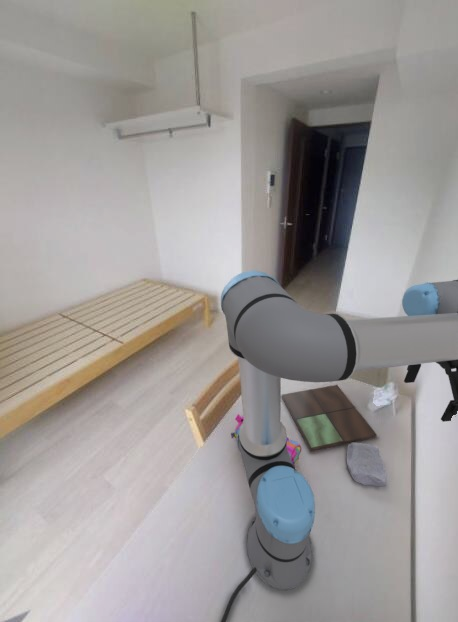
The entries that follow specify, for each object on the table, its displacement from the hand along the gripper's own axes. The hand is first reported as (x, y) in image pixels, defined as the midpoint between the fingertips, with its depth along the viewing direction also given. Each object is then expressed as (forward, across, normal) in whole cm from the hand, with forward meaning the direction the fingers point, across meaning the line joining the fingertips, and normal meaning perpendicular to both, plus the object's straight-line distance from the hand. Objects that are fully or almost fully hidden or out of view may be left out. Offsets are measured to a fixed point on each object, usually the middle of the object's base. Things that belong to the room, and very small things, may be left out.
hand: (426, 399), depth 73 cm
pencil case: (+26, +7, +42) cm, 49 cm away
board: (+25, +18, +16) cm, 35 cm away
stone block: (+25, -1, +13) cm, 29 cm away
